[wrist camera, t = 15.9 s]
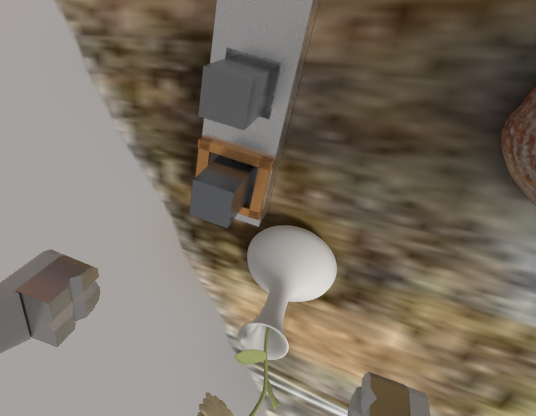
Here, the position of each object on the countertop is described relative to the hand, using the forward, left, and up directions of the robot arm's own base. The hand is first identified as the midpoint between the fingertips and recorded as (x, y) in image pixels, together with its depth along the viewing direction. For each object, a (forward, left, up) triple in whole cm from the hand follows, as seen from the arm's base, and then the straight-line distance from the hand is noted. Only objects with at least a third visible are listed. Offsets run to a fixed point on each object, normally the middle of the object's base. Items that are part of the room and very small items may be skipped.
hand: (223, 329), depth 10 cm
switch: (+8, 0, -28) cm, 29 cm away
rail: (+8, 0, -29) cm, 30 cm away
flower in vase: (-1, +21, -29) cm, 36 cm away
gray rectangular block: (+8, +10, -28) cm, 30 cm away
